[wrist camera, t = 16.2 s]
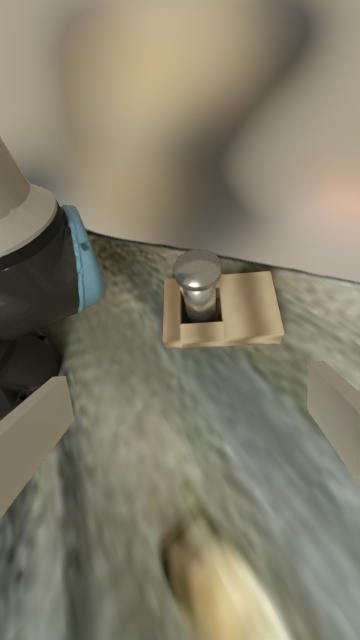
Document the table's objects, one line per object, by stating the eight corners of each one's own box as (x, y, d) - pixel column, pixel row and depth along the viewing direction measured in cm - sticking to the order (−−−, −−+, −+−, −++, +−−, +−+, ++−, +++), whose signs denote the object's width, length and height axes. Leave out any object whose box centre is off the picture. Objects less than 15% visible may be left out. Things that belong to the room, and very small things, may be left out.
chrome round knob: (183, 332, 45) (173, 287, 35) (182, 301, 49) (173, 251, 38) (222, 330, 45) (223, 284, 34) (219, 298, 48) (219, 247, 38)
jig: (165, 348, 44) (162, 340, 42) (167, 289, 50) (164, 279, 48) (280, 342, 42) (284, 333, 40) (267, 282, 49) (270, 271, 46)
